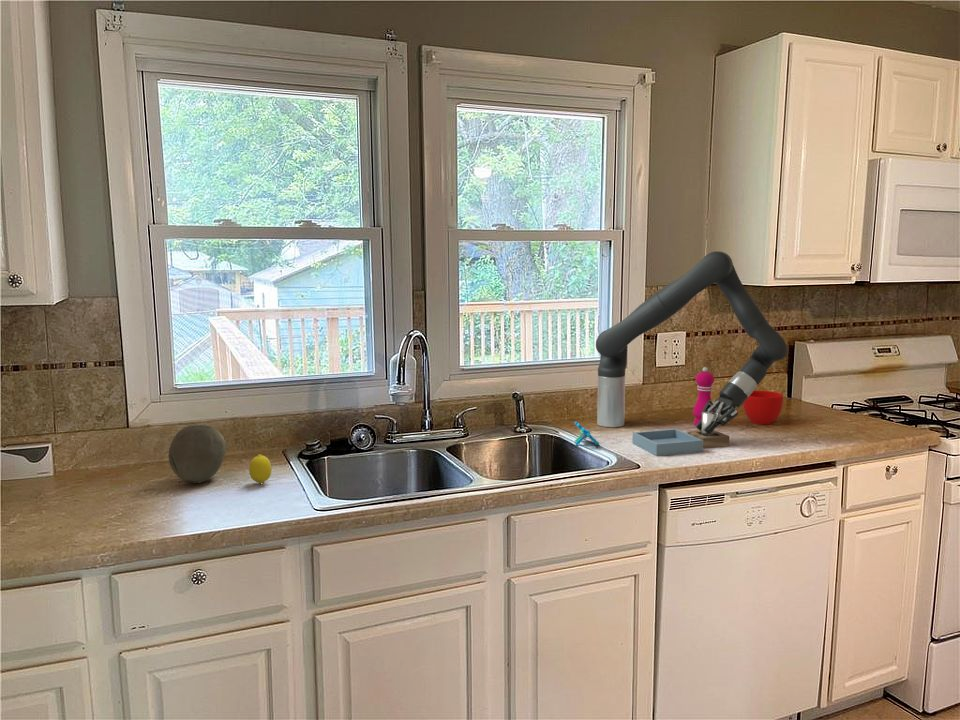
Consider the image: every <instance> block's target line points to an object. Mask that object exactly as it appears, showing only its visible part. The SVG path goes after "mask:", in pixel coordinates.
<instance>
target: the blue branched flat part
mask: <svg viewBox="0 0 960 720" xmlns="http://www.w3.org/2000/svg"><path fill="white" fill-rule="evenodd" d="M574 425H575V426H576V427H577V428H578V429H579V430H580V431H579V433H578V437H576V438H575V439H574V442H575V443H574V444H575V445H576V446H579V444H580V443H582V442H583V440H586V439H587V438H588V439H590V441H592V442H593V443H594V444H595V445H596V446H598V445H599V444H600V443H599V441H598V440H597V439H596V438H595V437H593V435H591V431H589V429H585V428H584V427H583V426H582V425H581V424H580V423H579V422H578V421H574Z"/></svg>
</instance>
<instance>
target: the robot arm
mask: <svg viewBox="0 0 960 720" xmlns="http://www.w3.org/2000/svg"><path fill="white" fill-rule="evenodd" d="M714 284H716V286H717V287H718V288H719V289H720V290H721V292H722V293H723V295H724V296H725V298H726V299H727V301H728V304H729V305H730V307H731V309H732V311H733V313H734V315H735V316H736V318H737V320H738V322H739V323H740V325H741V327H742V328H743V330H744V331H745V333H746V334H747V335H748V336H749V338H751V339H754V340H756V342H757V343H758V346H757V347H756V348H755V350H754V351H753V352H752V354H751V355H750V357H749V359H747V362H745V363H744V364H743V366H742V367H741V368H740V369H739V370H738V372H737V373H735V374H734V375H733V376H732V377H731V378H730V379H729V380H728V382H727V383H726V384H725V385H724V386H723V387H722V388H721V389H720V390H719V391H718V394H719V397H718V398H716V399H715V400H714V401H712V399H711V400H708V402H707V403H706V405H705V407H704V409H703V410H702V412H706V411H707V412H712V411H713V412H714V413H715V417H714V419H713V421H711V422H710V423H709V424H708V425H707V427H706V428H705V429H704V430H705V432H706V433H707V434H711V432H713V430H714V429H715V430H716V428H717V427H720V426H722V427H723V426H726V425H727V424H728V423H729V422H730V421H732V420H733V419H734V418H735V417H737V416H738V415H739V412H738V411H737V410H736V409H739V408H740V407H741V406H742V405H743V403H744V402H745V400H746V399H747V398H748V397H749V396H750V395H751V394H752V392H753V391H755V389H756V388H757V387H758V385H759V384H760V383H761V382H762V381H763V380H764V379H765V377H767V376H766V375H767V373H768V370H769V368H770V367H771V366H772V365H773V364H774V363H775V362H777V361H781V360H784V358H785V357H787V354H788V346H787V343H786V341H785V340H784V338H783V337H782V336H781V334H779V332H777V331H776V329H775V328H774V327H773V326H771V324H770V323H769V322H768V320H767V318H766V317H765V316H764V314H763V313H762V311H761V310H760V308H759V306H758V305H757V304H756V303H755V301H754V300H753V298H752V296H751V295H750V294H749V292H748V291H747V289H746V288H745V287H744V285H743V283H742V281H741V279H740V278H739V275H738V273H737V271H736V268H735V266H734V263H733V259H732V257H731V256H730V255H729V254H728V253H726V252H723V251H717V250H716V251H712V252H709V253H707V254H706V255H705V256H704V257H702V259H701V260H699V262H698V263H696V264H695V265H694V266H693V267H692V268H691V269H690V270H689V271H687V272H686V273H685V274H684V275H682V276H681V277H679V278H677V279H675V280H673V281H671V282H670V283H669V284H667V285H665V286H663V287H662V288H661V289H659V290H658V291H656V292H655V293H654V294H653V295H651V296H649V297H648V298H647V299H646V300H645V301H644V302H642V303H641V304H640V305H639V306H638V307H637V308H635V309H634V310H633V311H632V312H631V313H630V314H629V315H627V316H626V317H625V318H624V319H623V320H621V321H620V322H618V323H616V324H614V325H612V326H610V327H609V328H608V329H606V330H603V331H601V332H600V333H599V335H597V338H596V341H595V349H596V351H597V353H598V354H599V356H600V358H599V364H598V367H597V398H596V399H597V402H596V403H597V406H596V407H597V408H596V410H597V413H596V414H597V416H596V417H597V418H596V419H597V420H596V424H597V425H598V426H600V427H605V428H606V427H607V428H618V427H623V426H625V413H626V412H625V409H626V408H625V407H626V401H625V400H626V399H625V396H626V369H627V361H628V345H629V344H630V343H632V341H634V340H635V339H636V338H638V337H639V336H641V335H642V334H645V333H646V332H648V331H651V330H653V329H654V328H656V327H658V326H659V325H661V324H662V323H664V322H666V321H667V320H669V319H670V318H672V316H674V315H675V314H677V313H679V311H681V309H683V308H684V307H685V306H686V305H687V304H688V303H689V302H690V301H691V300H693V298H694V297H695V296H697V294H699V293H701V292H702V291H704V290H705V289H707V288H708V287H710V286H713V285H714ZM702 412H701V415H702ZM695 427H696V429H697V430H698V431H701V430H702V419H701V420H700V422H699V423H698V424H697V425H695Z"/></svg>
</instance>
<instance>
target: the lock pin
mask: <svg viewBox="0 0 960 720" xmlns="http://www.w3.org/2000/svg"><path fill="white" fill-rule="evenodd" d="M714 417H715V413H713V412H702V430H701V435H703V436H715V431H716V428H715V429H714V430H713V432H711V434H707V433H706V432H705V430H704V429H705V428H706V427H707V425H708V424H709V423H710V422H711V421H713V419H714Z"/></svg>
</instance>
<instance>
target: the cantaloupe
mask: <svg viewBox="0 0 960 720" xmlns="http://www.w3.org/2000/svg"><path fill="white" fill-rule="evenodd" d="M226 446H227V445H226V440H225V438H224V436H223V435H222V434H221V433H220V431H218V429H216V428H215V427H214V426H210V425H205V424H195V425H187V426H185V427H184V428H181V429H179V431H178V432H177V433H175V435H174V437H173V439H172V440H171V443H170V445H169V449H168V464H169V465H170V468H171V470H172V472H173V473H174V475H176V476H177V477H178V478H179V480H182V481H183V482H189V483H192V482H195V483H194V484H200V483H199V482H202V483H204V482H206V481H208V480H209V479H211V478H213V476H215V475H216V474H217V473H218V471H219V469H220V468H221V466H222V464H223V462H224V458H225V455H226V450H227V449H226V448H227V447H226Z"/></svg>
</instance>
